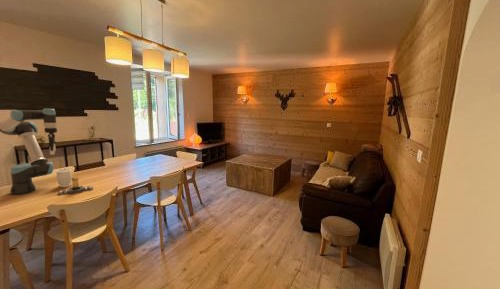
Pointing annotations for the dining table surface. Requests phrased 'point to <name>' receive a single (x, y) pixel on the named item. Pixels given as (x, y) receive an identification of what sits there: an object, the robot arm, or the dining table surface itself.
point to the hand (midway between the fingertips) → (53, 152)
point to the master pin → (75, 183)
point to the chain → (75, 190)
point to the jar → (64, 177)
